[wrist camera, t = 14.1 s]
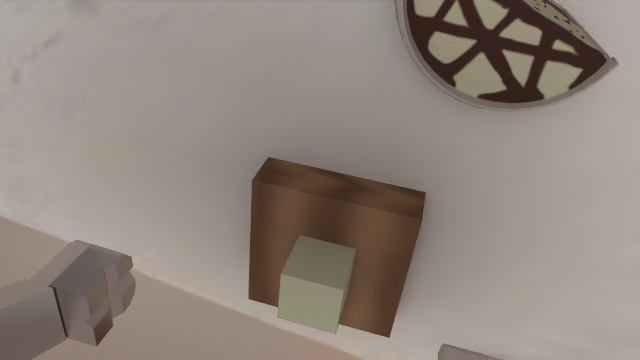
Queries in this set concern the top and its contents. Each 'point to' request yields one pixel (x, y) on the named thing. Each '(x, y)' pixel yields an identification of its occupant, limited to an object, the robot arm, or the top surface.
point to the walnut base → (335, 235)
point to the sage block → (315, 283)
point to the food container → (502, 51)
